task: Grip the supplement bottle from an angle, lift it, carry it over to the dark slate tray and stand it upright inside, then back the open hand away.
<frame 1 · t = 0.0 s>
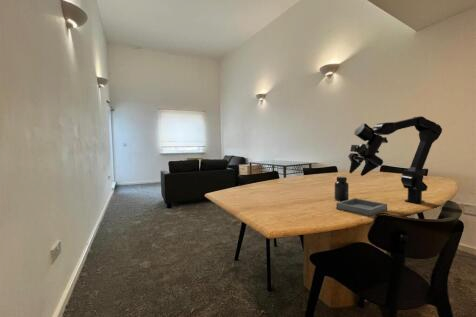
hand: (355, 174, 117), 15 cm above the table, tool tilted 35°, fingers open, 9 cm apart
supplement bottle: (341, 200, 129), on the table
slate tray: (361, 209, 110), on the table
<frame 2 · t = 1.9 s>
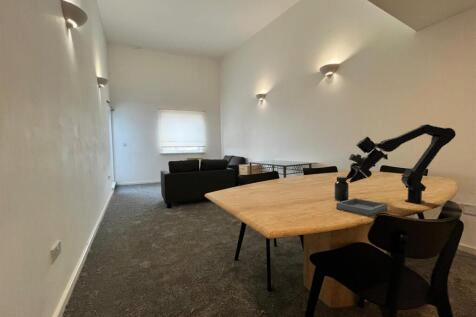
hand: (347, 180, 127), 10 cm above the table, tool tilted 45°, fingers open, 9 cm apart
nothing on the table moved.
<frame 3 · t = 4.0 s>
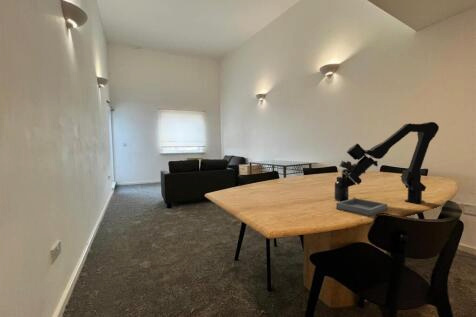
hand: (338, 187, 129), 7 cm above the table, tool tilted 45°, fingers closed on supplement bottle, 7 cm apart
supplement bottle: (341, 200, 129), on the table, touching gripper
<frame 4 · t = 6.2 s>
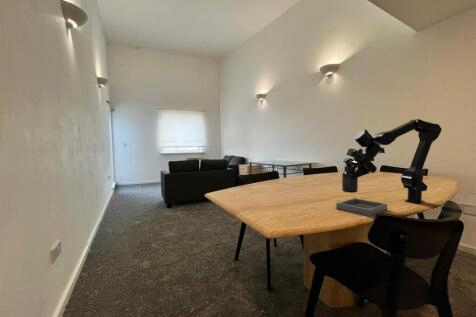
hand: (347, 177, 117), 13 cm above the table, tool tilted 45°, fingers closed on supplement bottle, 7 cm apart
supplement bottle: (349, 191, 117), point 6 cm above the table, touching gripper
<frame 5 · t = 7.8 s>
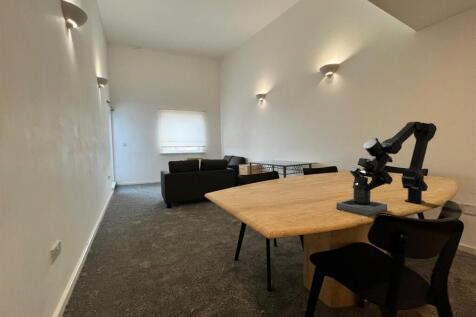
hand: (359, 189, 109), 9 cm above the table, tool tilted 45°, fingers closed on supplement bottle, 7 cm apart
supplement bottle: (361, 204, 110), point 2 cm above the table, touching gripper
when the fingers open (9 cm above the table, at t = 8.9 s): supplement bottle drops 1 cm, resting on slate tray.
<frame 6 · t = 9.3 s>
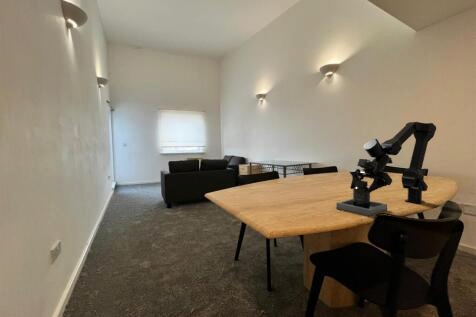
hand: (359, 190, 109), 9 cm above the table, tool tilted 45°, fingers open, 9 cm apart
supplement bottle: (361, 208, 110), point 1 cm above the table, touching slate tray
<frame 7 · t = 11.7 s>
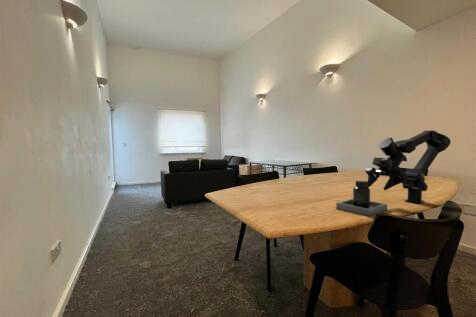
hand: (375, 188, 112), 9 cm above the table, tool tilted 45°, fingers open, 9 cm apart
nothing on the table moved.
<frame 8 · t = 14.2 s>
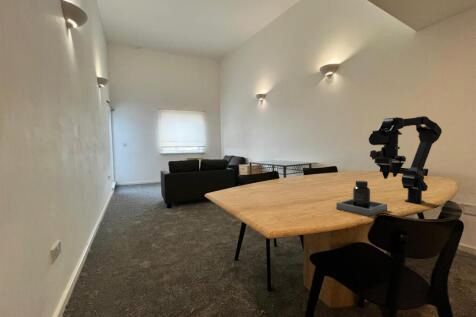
hand: (390, 177, 116), 13 cm above the table, tool pointing down, fingers open, 9 cm apart
nothing on the table moved.
at the end: supplement bottle inside the target area on the slate tray (0.2 cm from its centre), point 0.6 cm above the slate tray's base; supplement bottle tilted 0°; the gripper is holding nothing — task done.
